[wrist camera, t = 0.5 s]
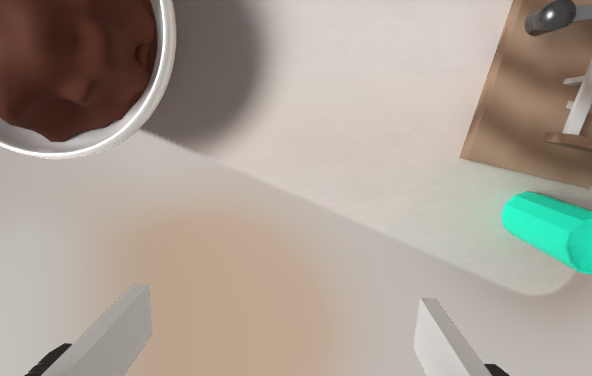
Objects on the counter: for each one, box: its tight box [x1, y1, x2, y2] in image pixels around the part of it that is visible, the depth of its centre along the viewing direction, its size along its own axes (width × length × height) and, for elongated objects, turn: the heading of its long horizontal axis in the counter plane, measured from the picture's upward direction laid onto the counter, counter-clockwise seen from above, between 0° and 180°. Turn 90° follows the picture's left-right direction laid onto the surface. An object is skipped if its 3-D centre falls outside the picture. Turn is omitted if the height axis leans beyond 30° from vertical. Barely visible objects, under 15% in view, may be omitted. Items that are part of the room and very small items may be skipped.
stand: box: [460, 0, 592, 188], centre depth 35 cm, size 22×15×6 cm
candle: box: [502, 192, 592, 274], centre depth 36 cm, size 6×6×12 cm
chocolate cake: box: [0, 0, 176, 159], centre depth 31 cm, size 25×25×15 cm
